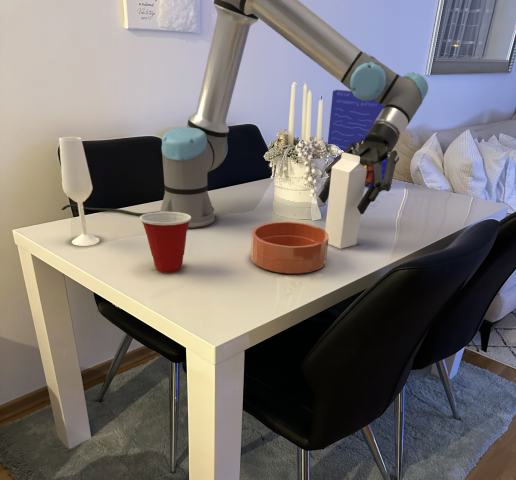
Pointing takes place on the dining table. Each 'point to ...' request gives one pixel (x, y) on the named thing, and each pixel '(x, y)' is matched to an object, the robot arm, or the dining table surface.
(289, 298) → the dining table surface
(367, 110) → the cereal box
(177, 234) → the plastic cup
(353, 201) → the milk
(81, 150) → the champagne flute
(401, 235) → the dining table surface
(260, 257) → the bowl
